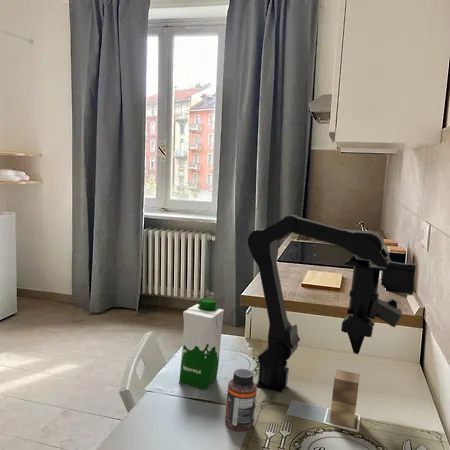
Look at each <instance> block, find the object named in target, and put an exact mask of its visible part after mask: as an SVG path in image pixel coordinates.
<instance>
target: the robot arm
mask: <svg viewBox="0 0 450 450" xmlns="http://www.w3.org/2000/svg"><path fill="white" fill-rule="evenodd" d="M293 233H294V234H297V235H300V236H304V237H308V238H311V239H314V240H318V241H321V242H325V243H329V244H332V245H335V246H339V247H341V248H342V249H344V250H346V251H348V252H349V253H351V254H352V256H351V257H350V258H349V259H347V261H345V262H344V265H346V266H348V267H353V271H352V278H351V279H352V280H351V287H350V291H349V294H348V295H349V302H348V303H349V304H348V308H347V310H346V311H347V312H346V313H347V314H349V315H347V316H345V317H344V318H343V320H342V321H341V329H340V330H341V332H342V333H346V334H347V335H348V339H349V342H350V345H351V348H352V349H351V350H352V352H353V354H355V355H359V353H360V351H361V348H362V345H363V342H364V339H365V338H366V337H367V338H372V335H373V330H374V327H375V322H373V321H372V320H376V318H378V319H380V320H381V321H383V322H384V323H387V324H388V325H389V327H393V328H396V326H397V325H398V323H399V321H400V320H401V318H402V316H403V310H401V308H398V301H397V300H395V299H394V298H390V299H388V300H387V301H386V300H383V299H380V298H379V295H380V293H379V292H378V290H379V281H380V276H381V282H380V285H381V286H383V289H385V292H389V293H395V294H396V293H397V294H401V295H402V294H403V295H407V296H411V297H412V296H413V295H414V289H415V281H416V277H415V274H416V265H417V264H415V263H409V262H408V263H405V262H397V261H392V259H391V258H390V256H389V254H388V252H387V251H386V249H385V241H384V238H383V236H382V235H381V234H379V233H378V232H376V231H372V230H362V229H345V228H341V227H337V226H334V225H329V224H326V223H324V222H318V221H315V220H311V219H308V218H304V217H302V216H301V217H300V216H298V215H297V214H290V215H289V214H288V215H287V216H284V217H283V218H282V219H281V220H279V221H277V222H276V223H273V224H271V225H270V226H268V227H263V228H260V229H256V230H254V231H252V232H251V233H250V234H249V235H248V237H247V240H246V241H247V247H248V249H249V252H250V255H251V257H252V258H253V261H254V263H256V266H257V267H258V269H259V270H258V271H259V275H260V281H261V286H262V291H263V296H264V301H265V308H266V313H267V316H268V317H267V318H268V322H269V326H268V332H267V333H268V334H267V347H266V348H265V349H264V350H263V351H262V352H261V353H260V354H259V355H258V356H257V359H258V364H259V370H258V371H259V372H258V379H257V383H255V384H256V386H257V388H260V389H264V390H268V391H272V392H277V393H282V392H283V391H284V389H286V387H287V385H288V382H289V381H288V380H289V373H290V371H289V370H290V368H289V367H288V360H289V359H290V358H291V357H292V356H293V354H294V353H295V352H296V351H297V349H298V347H299V342H300V341H301V338H300V336H299V334H298V325H297V324H294V325H292V324H291V322H290V321H289V319H288V315H287V310H286V305H285V301H284V294H283V290H282V284H281V279H280V274H279V269H278V262H277V261H278V256H279V242H280V241H281V240H283V239H285V238H286V237H287V236H289V235H290V234H293ZM381 272H382V275H380V274H381Z"/></svg>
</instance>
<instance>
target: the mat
mask: <svg viewBox="0 0 450 450" xmlns="http://www.w3.org/2000/svg"><path fill="white" fill-rule="evenodd" d="M286 411H287V412H286V413H285V415H288V416H291V417H297V418H300V419H305V420H308V421H311V422H316V423H320V424H323V422H324V418H325V414H326V411H327V407H324V406H321V405H320V406H319V405H315V404H311V403H307V402H302V401H298V400H294V399H292V400H291V401H290V404H289V406H288V409H287V410H286ZM330 413H331V410H330V409H329V411H328V415H327V419H326V423H330V422H329V421H330ZM356 419H357V416H355V419H354V427H353V428H350V427H346V426H342V425H338V424H334V423H330V424H334V425H338V426H342V427H346V428H350V429H354V430H356V428H355V427H356Z"/></svg>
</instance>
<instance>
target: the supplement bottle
mask: <svg viewBox="0 0 450 450" xmlns="http://www.w3.org/2000/svg"><path fill="white" fill-rule="evenodd" d="M256 384H257V383H256V382H255V381H254V373H253V372H252V371H251V370H249V369H246V368H237V369H235V370H234V371H233V377H232V379H231V380H230V381H228V384H227V385H228V386H227V394H226V405H225V416H224V418H225V419H224V422H225V424H226V426H227V427H228V428H229V429H232V430H233V431H237V432H243V431H248V430H250V429H252V428H253V425H254V420H255V409H256V400H257V391H258V389H257V388H258V387H257V386H256Z"/></svg>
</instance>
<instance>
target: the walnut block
mask: <svg viewBox="0 0 450 450" xmlns="http://www.w3.org/2000/svg"><path fill="white" fill-rule="evenodd" d="M360 375H361V374H359V373H355V372H351V371H347V370H342V369H335V375H334V379H333V388H332V396H331V397H332V398H331V402H332V401H337V402H341V403H345V404H349V405H354V406H356V407H357V403H356V401H357V402H358V392H359V385H360V384H359V383H360Z"/></svg>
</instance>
